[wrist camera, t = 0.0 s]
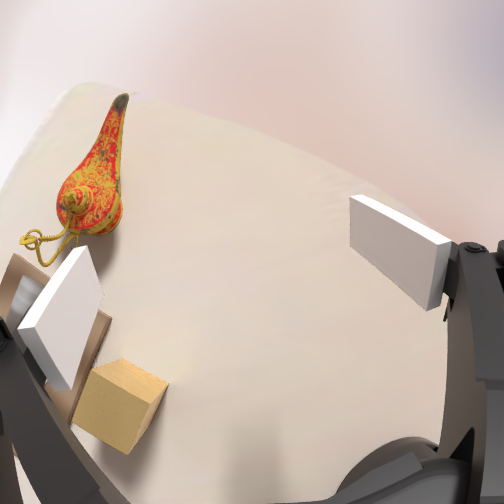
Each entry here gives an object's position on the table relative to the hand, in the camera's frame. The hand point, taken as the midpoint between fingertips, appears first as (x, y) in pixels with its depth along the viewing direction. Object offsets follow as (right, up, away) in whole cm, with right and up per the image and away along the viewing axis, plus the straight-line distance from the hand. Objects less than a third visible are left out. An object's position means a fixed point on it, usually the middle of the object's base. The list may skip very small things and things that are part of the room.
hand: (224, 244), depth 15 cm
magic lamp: (-14, +5, +16) cm, 22 cm away
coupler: (-10, -14, +12) cm, 21 cm away
